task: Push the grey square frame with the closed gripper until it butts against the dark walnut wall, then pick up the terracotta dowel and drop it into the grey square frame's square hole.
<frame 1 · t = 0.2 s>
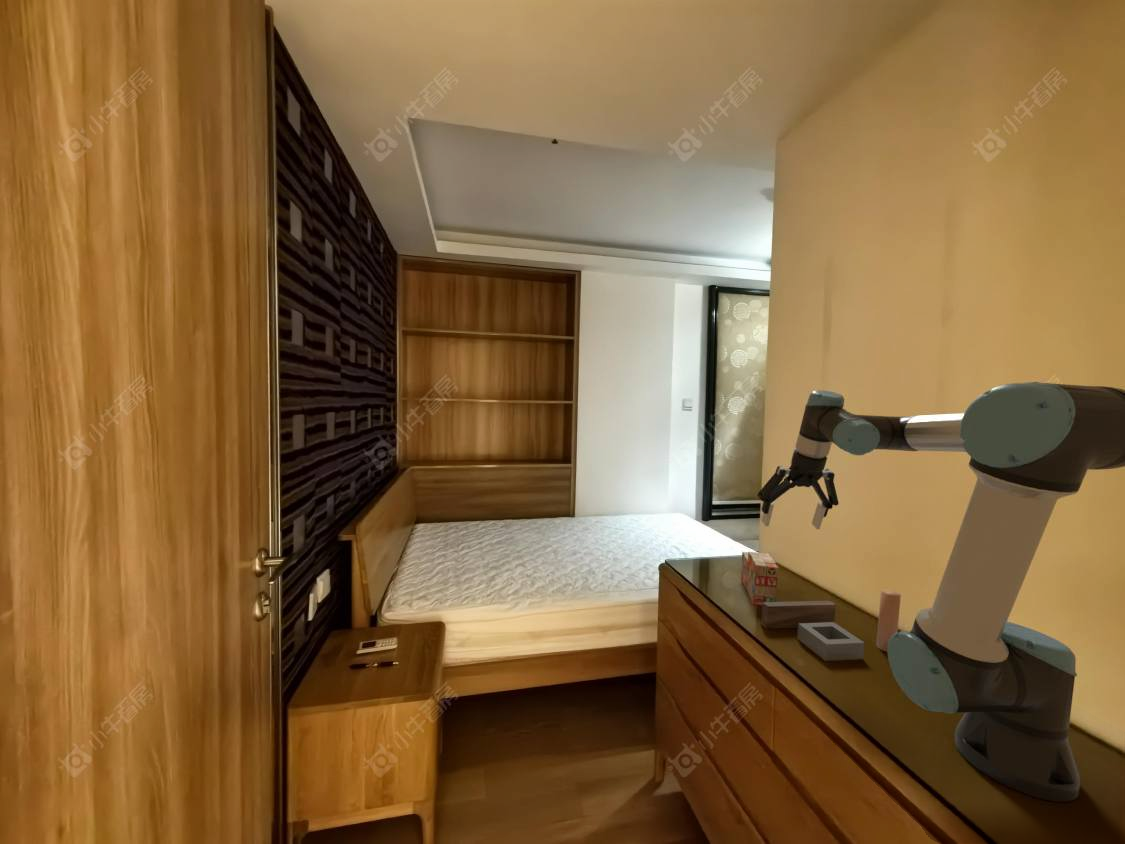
hand: (790, 525, 124), 27 cm above the table, tool tilted 20°, fingers open, 13 cm apart
grey square frame: (829, 648, 115), on the table
dowel: (885, 648, 116), on the table
stack of blocks: (756, 592, 148), on the table
wall: (797, 625, 126), on the table
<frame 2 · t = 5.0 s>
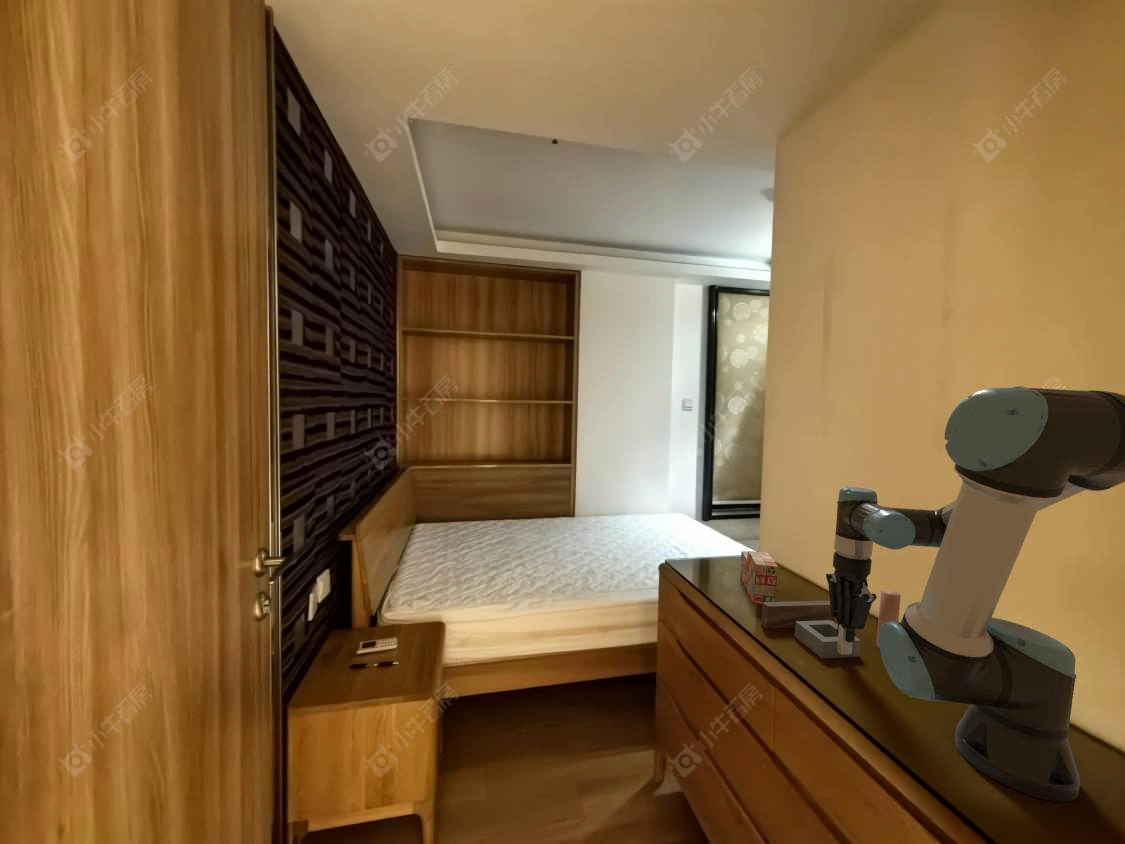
hand: (844, 652, 110), 2 cm above the table, tool pointing down, fingers closed
grey square frame: (825, 646, 116), on the table, touching gripper
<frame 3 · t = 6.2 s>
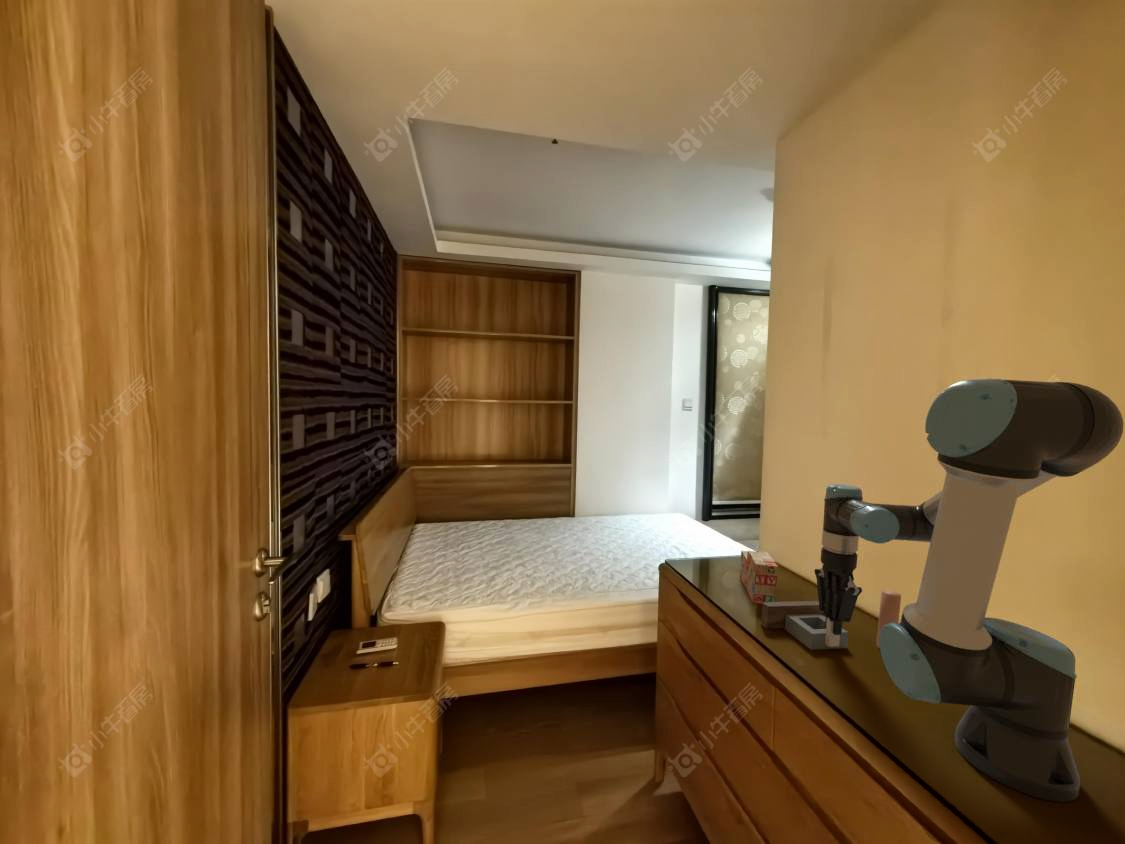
hand: (832, 644, 114), 1 cm above the table, tool pointing down, fingers closed
grey square frame: (814, 638, 120), on the table, touching gripper
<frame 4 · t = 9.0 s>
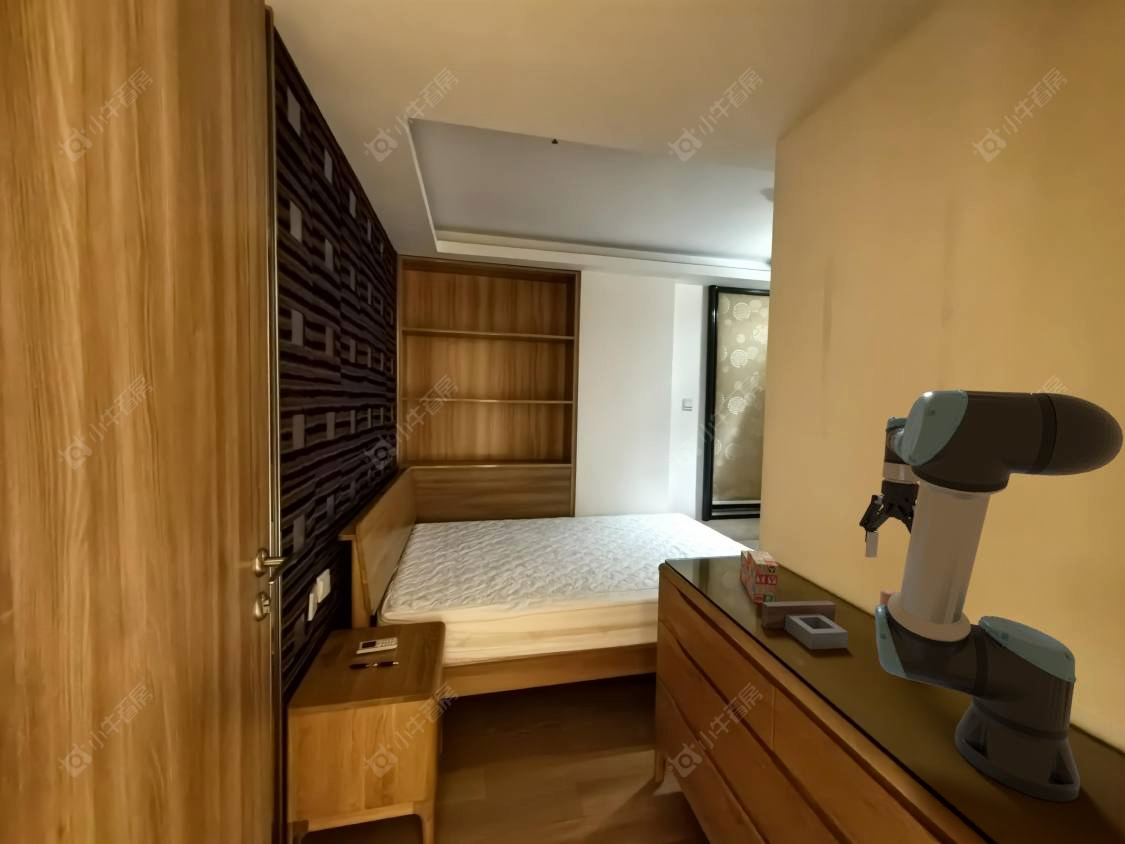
hand: (893, 566, 115), 21 cm above the table, tool pointing down, fingers open, 13 cm apart
grey square frame: (814, 638, 120), on the table
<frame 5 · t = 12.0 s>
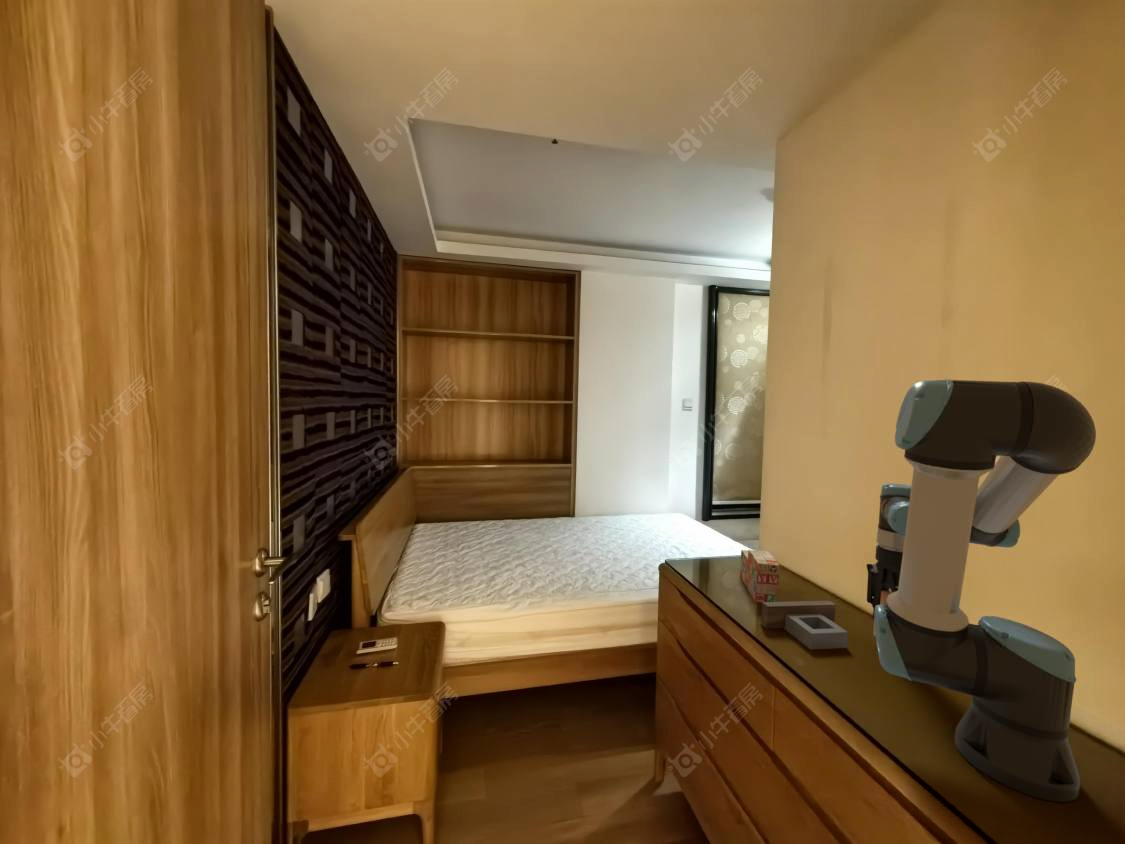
hand: (886, 639, 116), 2 cm above the table, tool pointing down, fingers closed on dowel, 4 cm apart
dowel: (886, 648, 116), on the table, touching gripper
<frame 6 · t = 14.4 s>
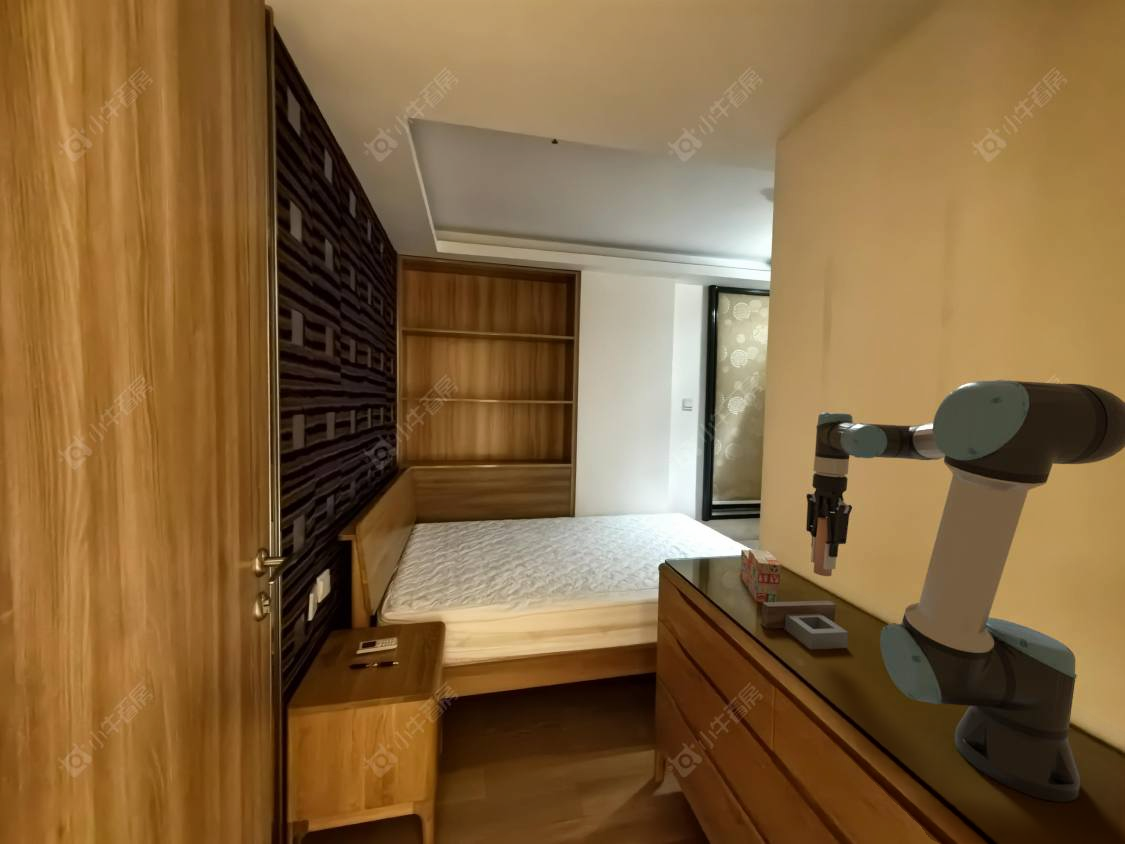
hand: (822, 565, 119), 19 cm above the table, tool pointing down, fingers closed on dowel, 4 cm apart
dowel: (822, 573, 119), point 17 cm above the table, touching gripper
when the fingers open (5 cm above the table, at t = 17.3 s): dowel drops 3 cm, resting in grey square frame.
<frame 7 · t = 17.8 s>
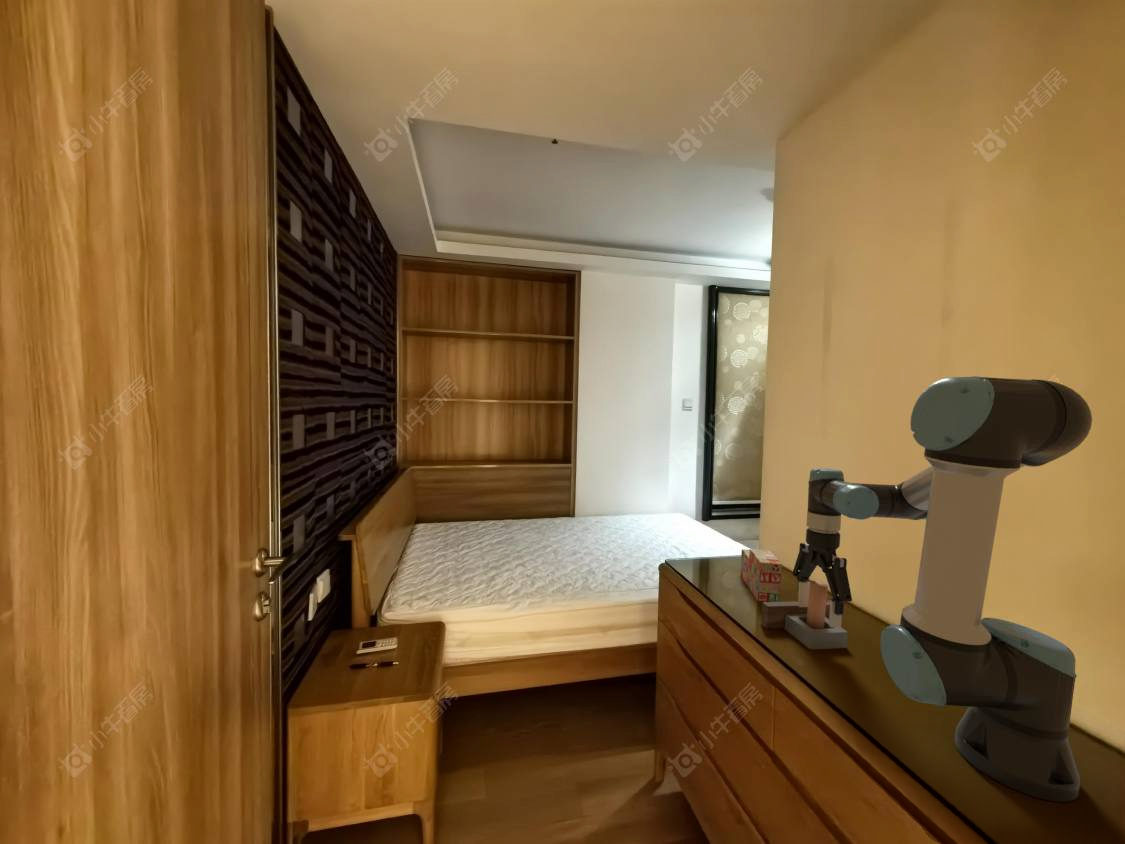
hand: (818, 615, 119), 6 cm above the table, tool pointing down, fingers open, 11 cm apart
dowel: (813, 636, 120), resting in grey square frame
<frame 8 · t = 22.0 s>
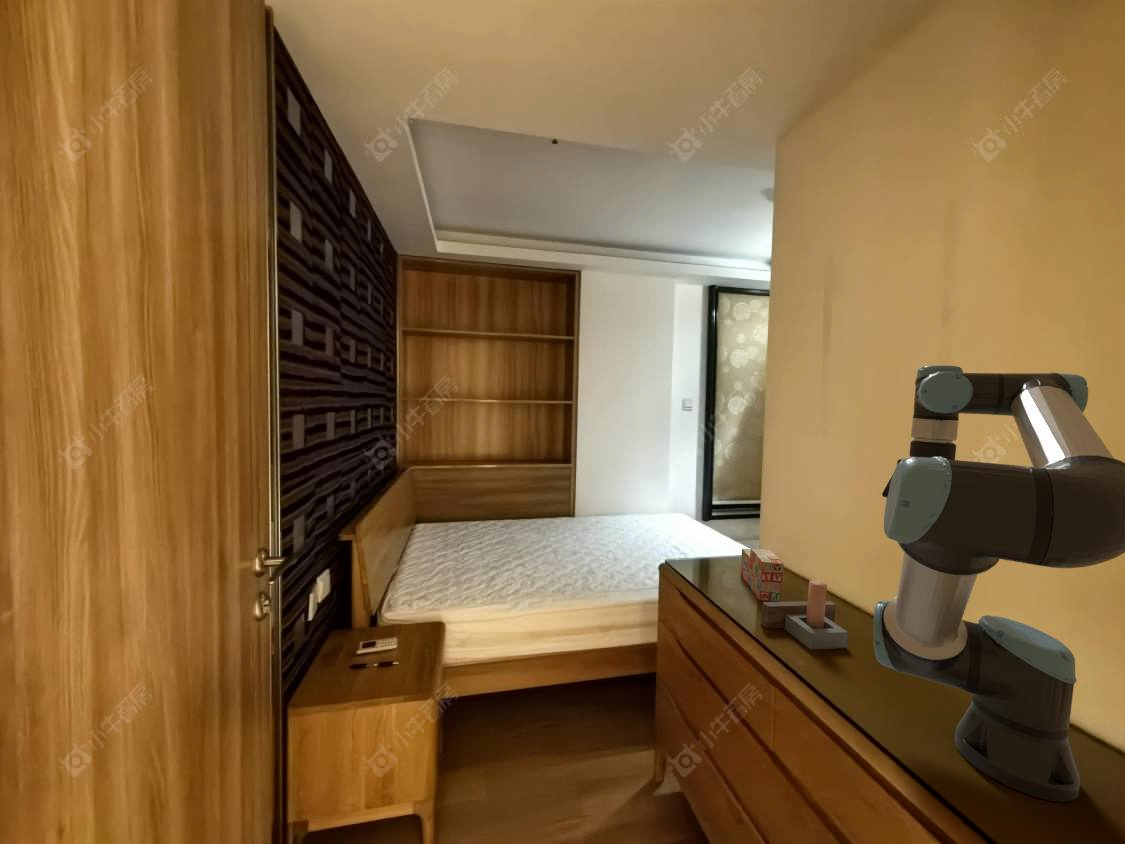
hand: (923, 541, 99), 32 cm above the table, tool pointing down, fingers open, 13 cm apart
at the end: dowel 0.6 cm off-centre on the grey square frame, point 0.0 cm above the grey square frame's base; grey square frame 6.7 cm from the wall (horizontally); dowel tilted 0° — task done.
